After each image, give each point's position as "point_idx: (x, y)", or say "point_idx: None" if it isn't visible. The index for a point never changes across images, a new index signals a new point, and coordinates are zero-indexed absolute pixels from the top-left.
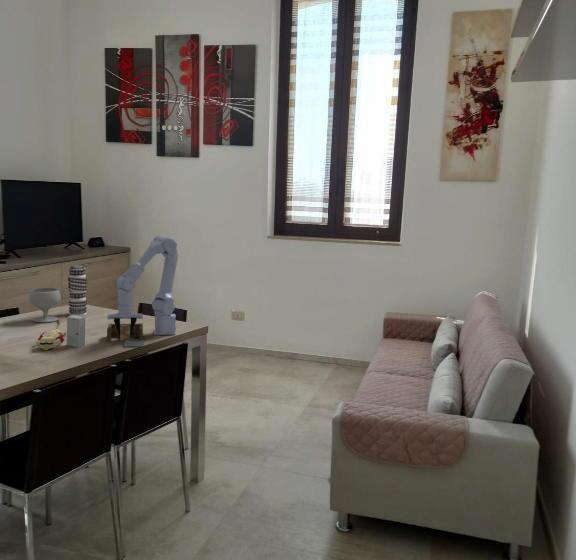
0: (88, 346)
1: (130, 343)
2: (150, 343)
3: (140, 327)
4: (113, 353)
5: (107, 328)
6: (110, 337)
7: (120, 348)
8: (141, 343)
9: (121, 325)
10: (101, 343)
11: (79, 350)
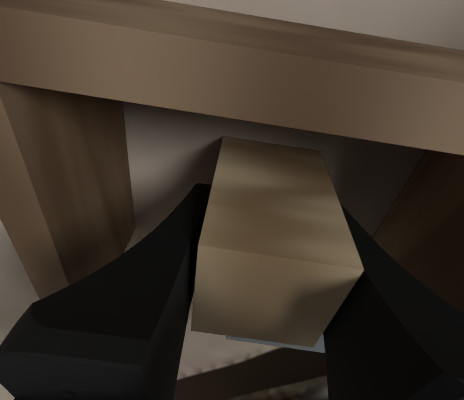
0: (20, 277)
1: None
2: None
3: None
4: (178, 369)
5: (40, 299)
6: (120, 218)
7: (209, 334)
8: None
9: (209, 278)
10: None
11: (7, 316)
